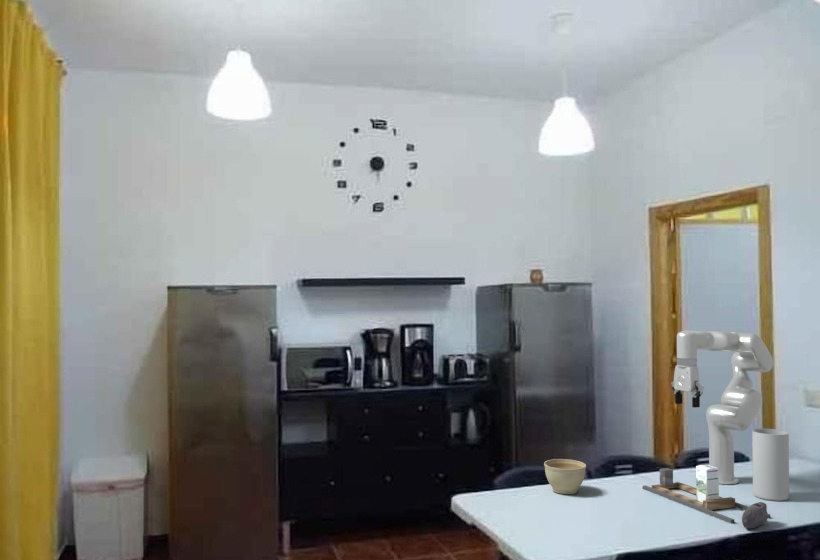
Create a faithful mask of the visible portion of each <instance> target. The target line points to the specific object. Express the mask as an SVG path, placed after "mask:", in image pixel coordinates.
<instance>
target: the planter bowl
mask: <svg viewBox="0 0 820 560" xmlns="http://www.w3.org/2000/svg"><path fill="white" fill-rule="evenodd" d="M543 466H544V472H545V477H546V479H547V481H548V483H549V485H550V487H551V489H552V492H554V493H556V494H561V495H573V494H577V492H578V489H579V488H580V487H581V485H582V484H583V482H584V478H585V475H586V468H587V465H586V463H584V462H582V461H579V460H574V459H567V458H566V459H564V458H557V459H556V458H553V459H548V460H546V461H544V463H543Z"/></svg>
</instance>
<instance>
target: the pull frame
mask: <svg viewBox="0 0 820 560" xmlns="http://www.w3.org/2000/svg"><path fill="white" fill-rule="evenodd" d="M675 482H676V483H675ZM675 482H674V469H673V468H672V469H671V468H669V467H667V468H666V467H664V468H660V469H659V484H651V486H650V487H651V488H654V489H656V490H659V491H662V492H664V493H667V494H670V495H672V496H675V497H677V498H680V499H683V500H685V501H688V502H690V503H693V504H696V505H698V506H701V507H703V508H706V509H709V510H711V511H715V510H721V509H728V508H736V507H735V502H736V498H735V497H732V496H729V497H723V498H721V497H722V496H720V497H719V499H712V500H704V501H703V502H700V501H697V499H695V498H692V497H690V496H689V497H688V496H686V495H683V494H681V493H678V492H676V491H673V490H671V489H680V490H682V491H686V492H688V493H691V494H694V495H696V496H697V493H696V489H695V488H696V487H694V488H692V487H693V486H691V485H689V486H687V485H688V484H686V485H684V484H685V483H683V484H681V483H682V482H680V483H678V482H679V481H675ZM690 486H691V487H690Z"/></svg>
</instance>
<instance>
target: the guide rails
mask: <svg viewBox="0 0 820 560" xmlns="http://www.w3.org/2000/svg"><path fill="white" fill-rule="evenodd" d="M676 482H678V483H681V484H684V485H687V486H690V487H692V488H695V489H696V487H694V486H691V485H688V484H686V483H683V482H680V481H674V483H676ZM642 489H643V490H645V491H648V492H650V493H652V494H654V495H657V494H658V496H659V497H660V496H661V497H662V496H663V498H665V499H668V500H671V501H673V502H676V503H678V504H681V505H683V506H686V507H688V508H690V509H694V510H696V511H698V512H700V513H703V512H704V514H706V515H708V514H709V515H708V516H710V517H713V516H714V518H716V519H718V518H719V520H721V521H723V520H724V522H726V523H729V524H735V518H732V517H729V516H727V515H725V514H723V513H722V514H721V513H718V512H716V511H715V510H709V509H706V508H703V507H701V506H698V505H696V504H693V503H690V502H688V501H685V500H683V499H680V498H677V497H675V496H672V495H670V494H667V493H664V492H662V491H659V490H656V489H654V488H651V486H648V485H642ZM719 497H721V498H724V497H722V496H720V495H719ZM748 507H749V506H747V505H744V504H742V503H739V502H737V501H735V507H734V508H738V509H740V510H743V511H745V510H746V509H747V508H748ZM768 519H771V513H768Z"/></svg>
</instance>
